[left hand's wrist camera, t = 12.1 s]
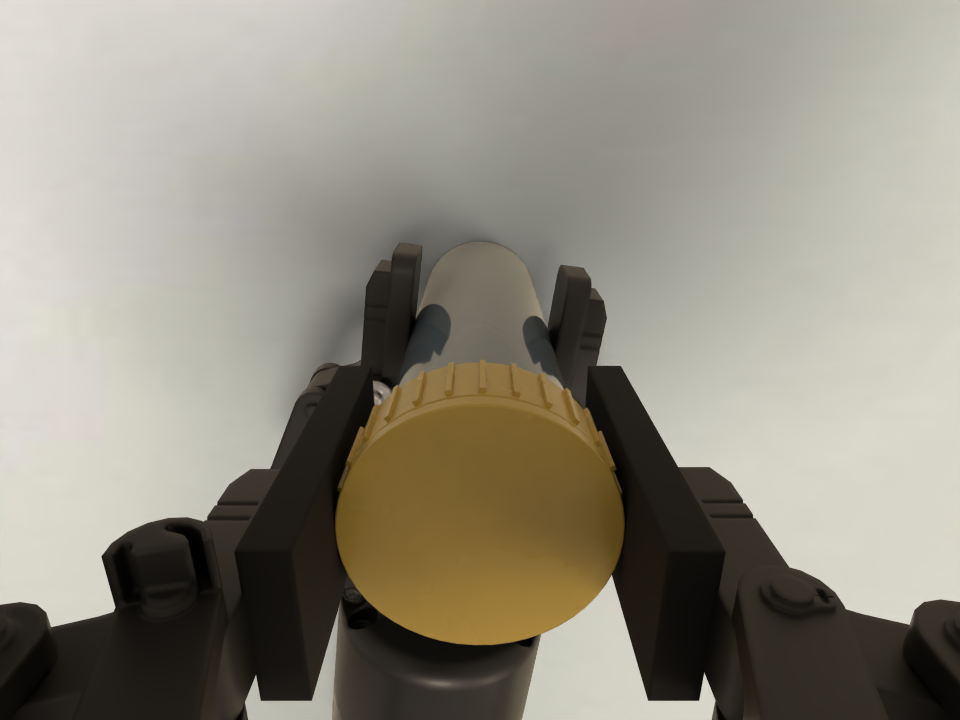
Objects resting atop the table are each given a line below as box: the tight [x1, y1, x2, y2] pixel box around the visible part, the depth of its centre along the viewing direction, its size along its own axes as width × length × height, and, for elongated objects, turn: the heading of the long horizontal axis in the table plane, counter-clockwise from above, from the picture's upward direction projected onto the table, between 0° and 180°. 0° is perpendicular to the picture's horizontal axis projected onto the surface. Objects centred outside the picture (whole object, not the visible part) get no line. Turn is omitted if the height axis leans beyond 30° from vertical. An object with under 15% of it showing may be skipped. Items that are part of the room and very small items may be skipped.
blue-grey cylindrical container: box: [394, 241, 566, 390], centre depth 18 cm, size 4×4×15 cm
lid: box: [335, 360, 625, 645], centre depth 11 cm, size 5×5×2 cm
